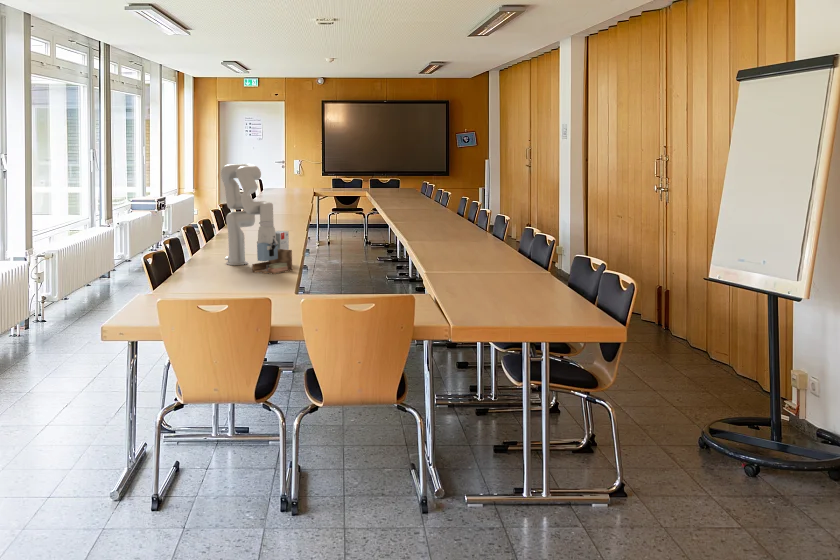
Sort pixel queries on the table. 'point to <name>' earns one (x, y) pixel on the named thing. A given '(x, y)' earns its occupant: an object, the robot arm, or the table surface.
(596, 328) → the table surface
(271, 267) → the shelf
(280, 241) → the hard drive box
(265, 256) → the book
